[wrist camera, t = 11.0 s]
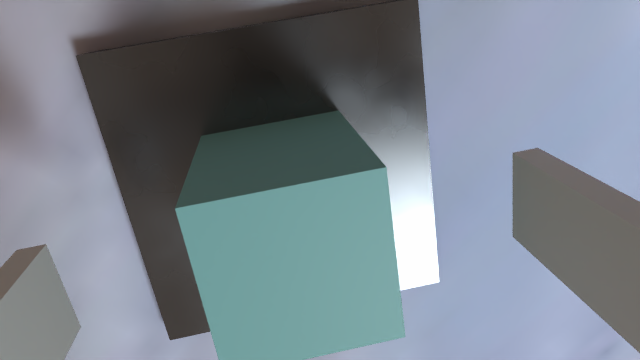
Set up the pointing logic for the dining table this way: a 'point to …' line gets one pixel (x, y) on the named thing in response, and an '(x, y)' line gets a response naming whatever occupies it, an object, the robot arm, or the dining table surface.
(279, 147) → the teal block
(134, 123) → the grey square plate
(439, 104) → the dining table surface
